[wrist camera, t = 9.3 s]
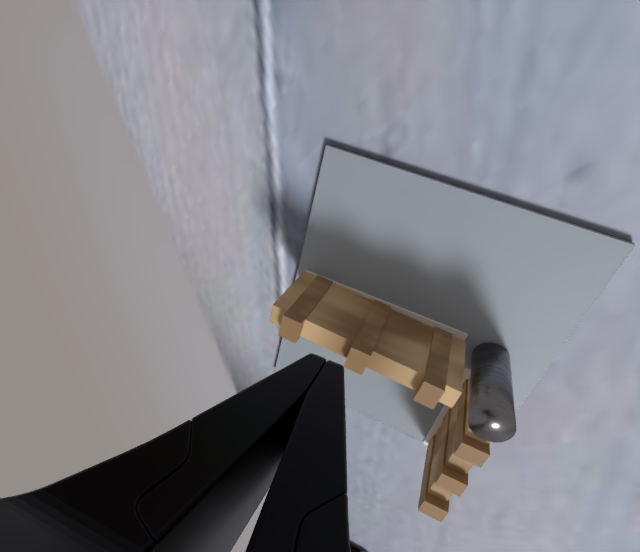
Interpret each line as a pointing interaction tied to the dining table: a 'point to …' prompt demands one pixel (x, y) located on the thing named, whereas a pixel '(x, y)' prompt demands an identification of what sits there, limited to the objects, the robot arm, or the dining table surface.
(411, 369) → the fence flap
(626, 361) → the dining table surface
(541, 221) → the card
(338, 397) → the robot arm
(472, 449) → the fence fixed
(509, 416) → the hinge post
